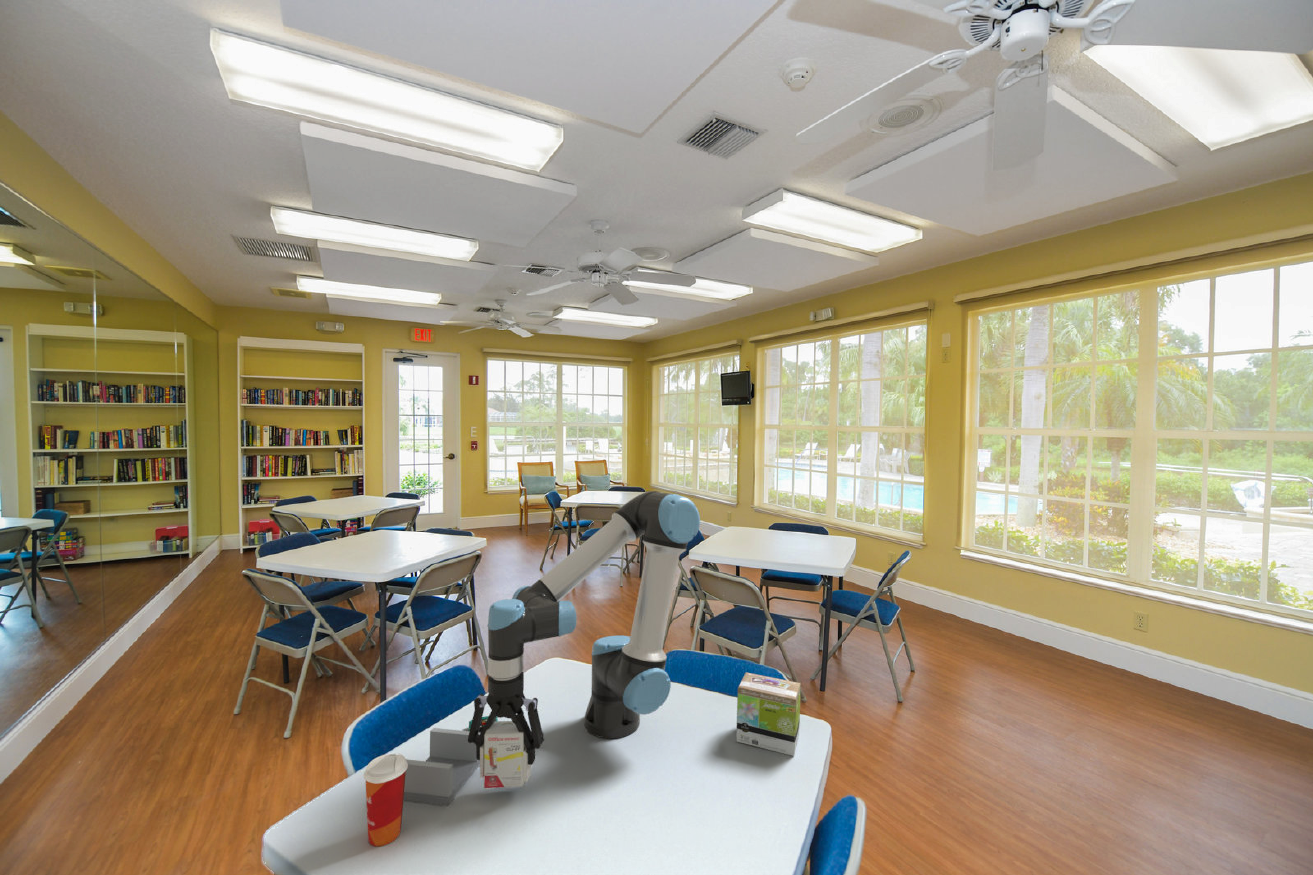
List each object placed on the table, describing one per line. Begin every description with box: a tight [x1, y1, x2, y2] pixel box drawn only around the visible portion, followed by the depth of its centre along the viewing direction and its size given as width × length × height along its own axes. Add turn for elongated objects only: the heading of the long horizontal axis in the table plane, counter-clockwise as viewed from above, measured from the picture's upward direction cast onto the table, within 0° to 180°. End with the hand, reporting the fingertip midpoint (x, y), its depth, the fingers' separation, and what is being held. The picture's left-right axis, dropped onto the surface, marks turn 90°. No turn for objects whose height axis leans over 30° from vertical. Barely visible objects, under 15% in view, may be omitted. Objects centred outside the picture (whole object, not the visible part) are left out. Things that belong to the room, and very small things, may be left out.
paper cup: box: [363, 753, 408, 847], centre depth 102 cm, size 8×8×14 cm
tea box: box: [736, 672, 802, 757], centre depth 137 cm, size 15×10×15 cm, turn 68°
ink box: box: [483, 720, 526, 789], centre depth 114 cm, size 9×5×12 cm, turn 94°
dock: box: [403, 727, 480, 807], centre depth 118 cm, size 12×15×8 cm
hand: (505, 775), depth 114 cm, fingers closed on ink box, 9 cm apart
